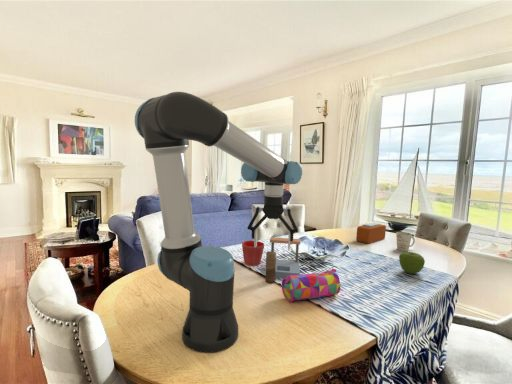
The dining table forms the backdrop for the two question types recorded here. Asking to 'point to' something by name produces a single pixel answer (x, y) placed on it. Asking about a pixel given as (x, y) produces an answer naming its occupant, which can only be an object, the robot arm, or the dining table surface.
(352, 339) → the dining table surface
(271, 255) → the dowel
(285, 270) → the socket board
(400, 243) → the mug
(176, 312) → the dining table surface
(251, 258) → the flower pot
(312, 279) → the pencil case
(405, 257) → the apple
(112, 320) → the dining table surface
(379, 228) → the orange rectangular block
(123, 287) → the dining table surface
